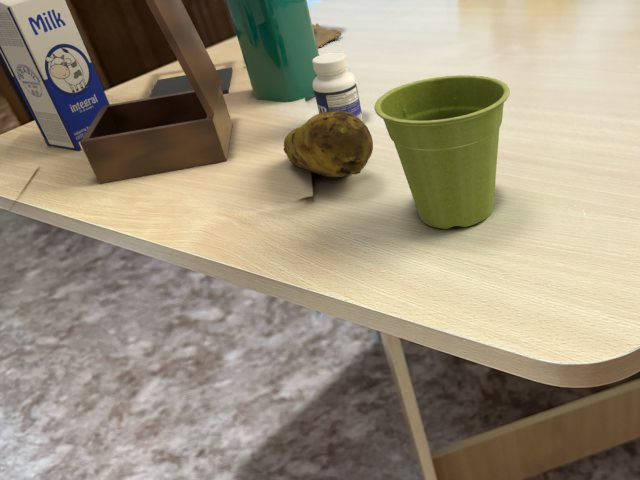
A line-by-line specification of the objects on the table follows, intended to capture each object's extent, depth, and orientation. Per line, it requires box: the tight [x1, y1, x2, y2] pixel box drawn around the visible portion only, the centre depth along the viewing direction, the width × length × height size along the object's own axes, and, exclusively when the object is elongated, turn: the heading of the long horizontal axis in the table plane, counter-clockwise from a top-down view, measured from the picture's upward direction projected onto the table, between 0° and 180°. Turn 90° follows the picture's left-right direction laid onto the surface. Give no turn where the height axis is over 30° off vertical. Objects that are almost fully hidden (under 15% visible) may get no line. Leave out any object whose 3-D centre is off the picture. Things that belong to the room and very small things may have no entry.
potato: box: [283, 111, 374, 178], centre depth 73 cm, size 8×13×8 cm, turn 24°
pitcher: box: [226, 0, 320, 103], centre depth 93 cm, size 10×8×22 cm
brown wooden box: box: [80, 87, 234, 185], centre depth 84 cm, size 15×13×6 cm
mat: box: [148, 67, 234, 98], centre depth 108 cm, size 12×12×1 cm
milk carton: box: [0, 0, 110, 152], centre depth 87 cm, size 7×7×20 cm
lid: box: [145, 0, 222, 116], centre depth 77 cm, size 15×13×5 cm
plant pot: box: [373, 74, 511, 230], centre depth 63 cm, size 12×12×11 cm
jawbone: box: [312, 22, 342, 49], centre depth 118 cm, size 9×20×2 cm, turn 161°
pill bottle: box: [312, 52, 366, 125], centre depth 84 cm, size 5×5×9 cm
